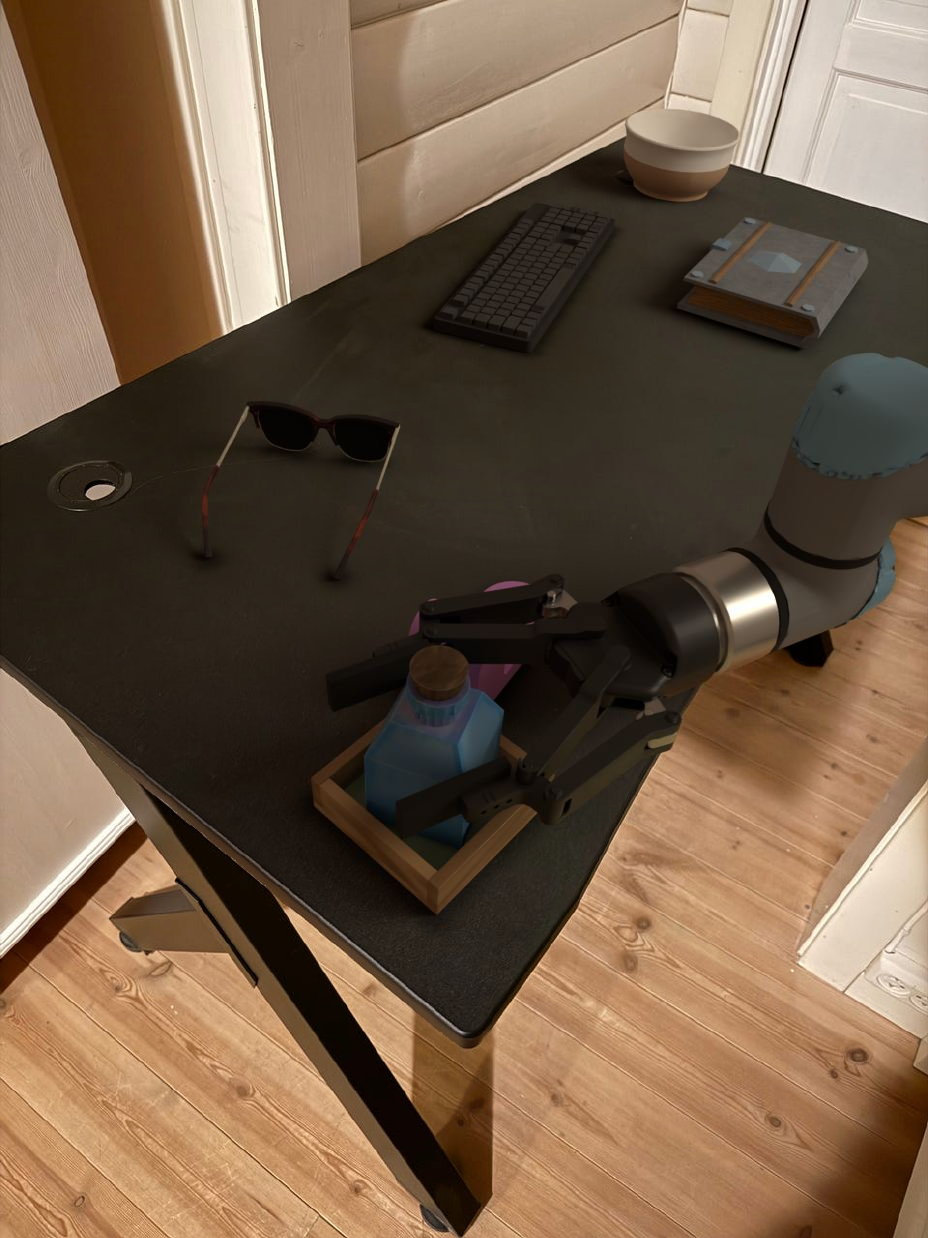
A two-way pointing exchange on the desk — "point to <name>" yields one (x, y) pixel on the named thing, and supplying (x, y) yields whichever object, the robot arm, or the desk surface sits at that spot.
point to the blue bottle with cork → (431, 738)
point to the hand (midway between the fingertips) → (362, 753)
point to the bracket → (486, 675)
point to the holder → (416, 858)
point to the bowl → (678, 152)
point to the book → (774, 281)
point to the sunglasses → (300, 428)
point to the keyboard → (526, 277)
